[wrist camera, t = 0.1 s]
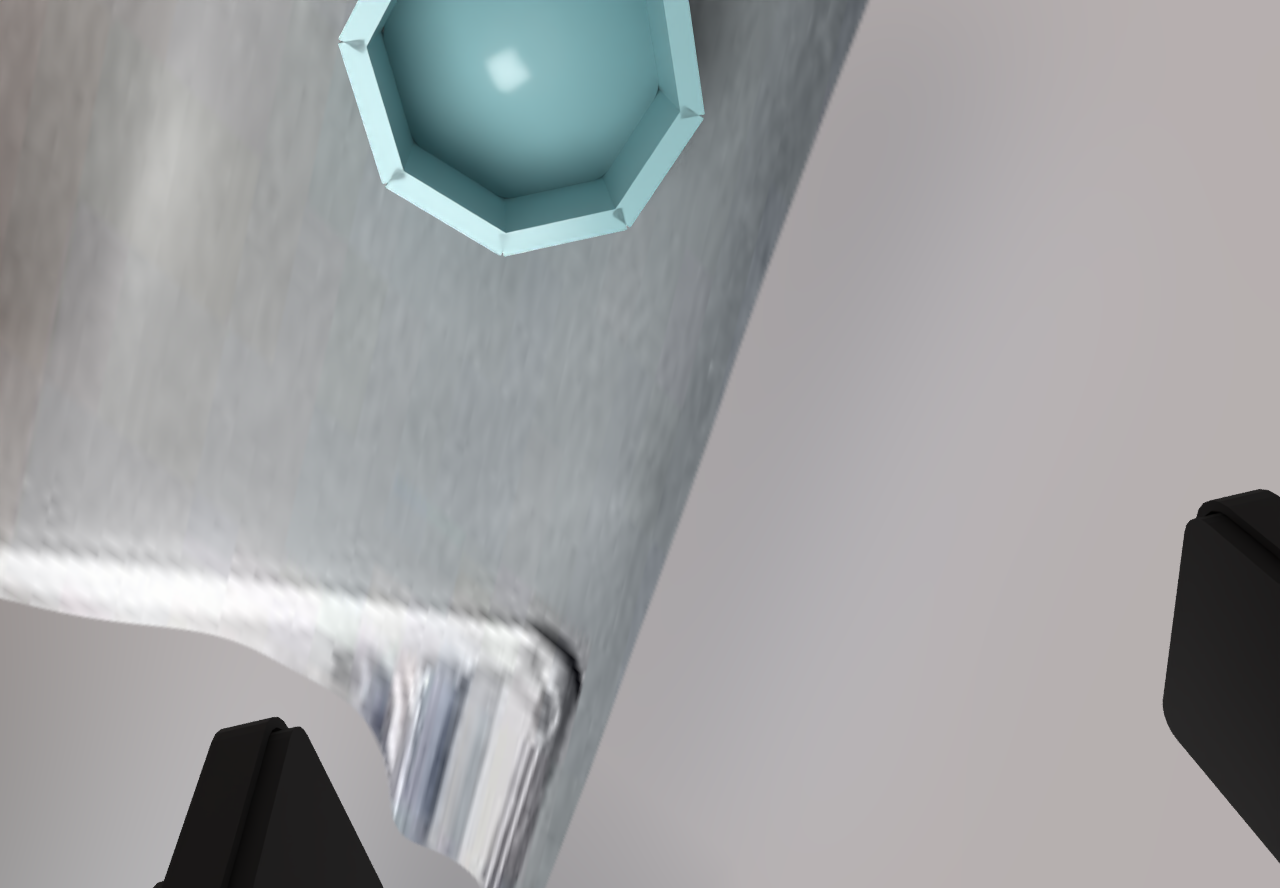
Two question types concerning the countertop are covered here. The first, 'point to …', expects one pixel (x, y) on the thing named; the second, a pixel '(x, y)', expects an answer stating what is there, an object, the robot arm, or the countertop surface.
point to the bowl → (525, 110)
